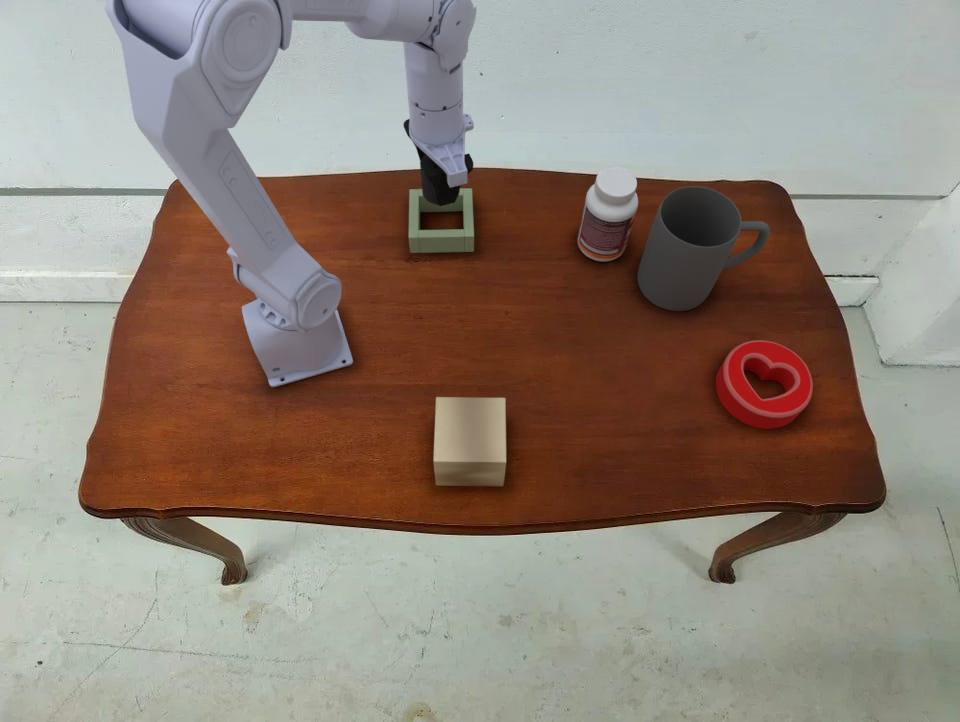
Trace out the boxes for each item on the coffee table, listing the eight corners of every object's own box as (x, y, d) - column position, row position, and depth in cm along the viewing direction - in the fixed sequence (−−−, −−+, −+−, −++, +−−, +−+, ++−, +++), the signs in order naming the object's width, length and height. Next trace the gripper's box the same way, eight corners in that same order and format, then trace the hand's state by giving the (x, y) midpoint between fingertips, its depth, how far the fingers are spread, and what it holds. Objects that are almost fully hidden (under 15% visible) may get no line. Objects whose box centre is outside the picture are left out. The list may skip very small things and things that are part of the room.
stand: (435, 485, 73) (433, 461, 67) (438, 424, 77) (436, 396, 71) (503, 486, 73) (506, 462, 68) (502, 425, 77) (505, 397, 71)
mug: (643, 315, 84) (668, 250, 74) (629, 255, 89) (650, 186, 79) (754, 309, 85) (794, 244, 75) (735, 249, 90) (770, 181, 79)
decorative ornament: (721, 426, 77) (731, 414, 74) (710, 351, 82) (719, 336, 79) (810, 430, 77) (822, 418, 74) (794, 354, 82) (805, 340, 79)
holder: (410, 253, 89) (408, 237, 86) (411, 205, 93) (409, 189, 90) (474, 252, 89) (474, 236, 86) (471, 204, 93) (472, 188, 90)
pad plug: (428, 209, 84) (426, 181, 80) (417, 182, 86) (415, 154, 82) (464, 199, 84) (464, 172, 81) (452, 174, 87) (452, 145, 83)
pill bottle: (630, 261, 88) (650, 199, 79) (582, 266, 88) (596, 204, 78) (619, 223, 92) (636, 159, 82) (572, 228, 91) (584, 164, 82)
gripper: (496, 130, 70) (492, 223, 82) (450, 42, 77) (452, 139, 89) (428, 146, 69) (434, 238, 81) (387, 56, 76) (398, 152, 87)
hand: (440, 187), depth 85 cm, fingers closed on pad plug, 4 cm apart
